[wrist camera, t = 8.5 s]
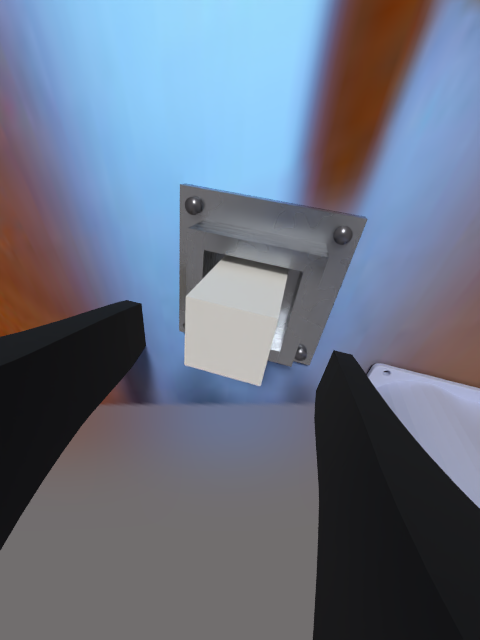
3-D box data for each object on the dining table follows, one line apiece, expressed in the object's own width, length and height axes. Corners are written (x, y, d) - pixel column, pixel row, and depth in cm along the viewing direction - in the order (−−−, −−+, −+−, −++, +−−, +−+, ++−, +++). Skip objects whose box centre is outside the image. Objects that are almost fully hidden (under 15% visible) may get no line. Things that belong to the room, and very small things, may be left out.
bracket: (364, 216, 14) (378, 229, 11) (309, 358, 20) (309, 390, 17) (185, 183, 16) (157, 187, 13) (183, 325, 22) (163, 350, 19)
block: (290, 263, 16) (278, 319, 10) (276, 315, 18) (260, 386, 12) (229, 250, 16) (185, 296, 11) (223, 303, 18) (184, 364, 13)
